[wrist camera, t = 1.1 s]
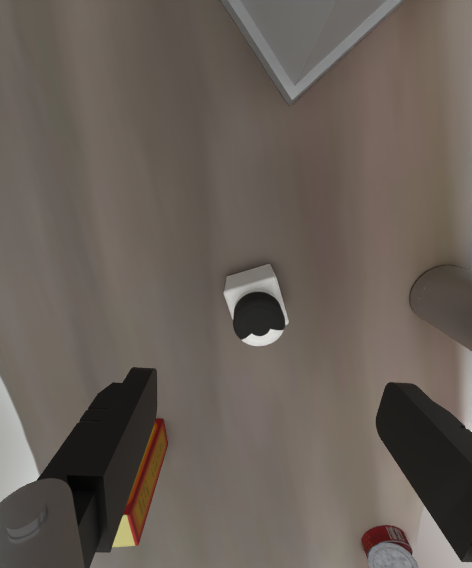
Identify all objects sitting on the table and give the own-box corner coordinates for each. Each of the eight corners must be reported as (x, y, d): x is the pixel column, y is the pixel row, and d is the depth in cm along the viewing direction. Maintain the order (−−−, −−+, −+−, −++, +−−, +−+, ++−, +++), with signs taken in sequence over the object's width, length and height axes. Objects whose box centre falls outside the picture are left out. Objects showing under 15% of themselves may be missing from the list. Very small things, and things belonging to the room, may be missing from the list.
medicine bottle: (225, 276, 39) (219, 307, 28) (269, 262, 39) (282, 289, 27) (239, 316, 41) (238, 360, 30) (281, 304, 41) (297, 344, 29)
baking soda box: (121, 445, 51) (71, 549, 36) (114, 420, 49) (58, 519, 34) (168, 444, 51) (137, 548, 35) (163, 418, 49) (128, 518, 33)
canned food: (358, 525, 65) (353, 574, 57) (369, 504, 61) (366, 554, 53) (409, 556, 60) (412, 615, 52) (425, 535, 56) (431, 595, 48)
